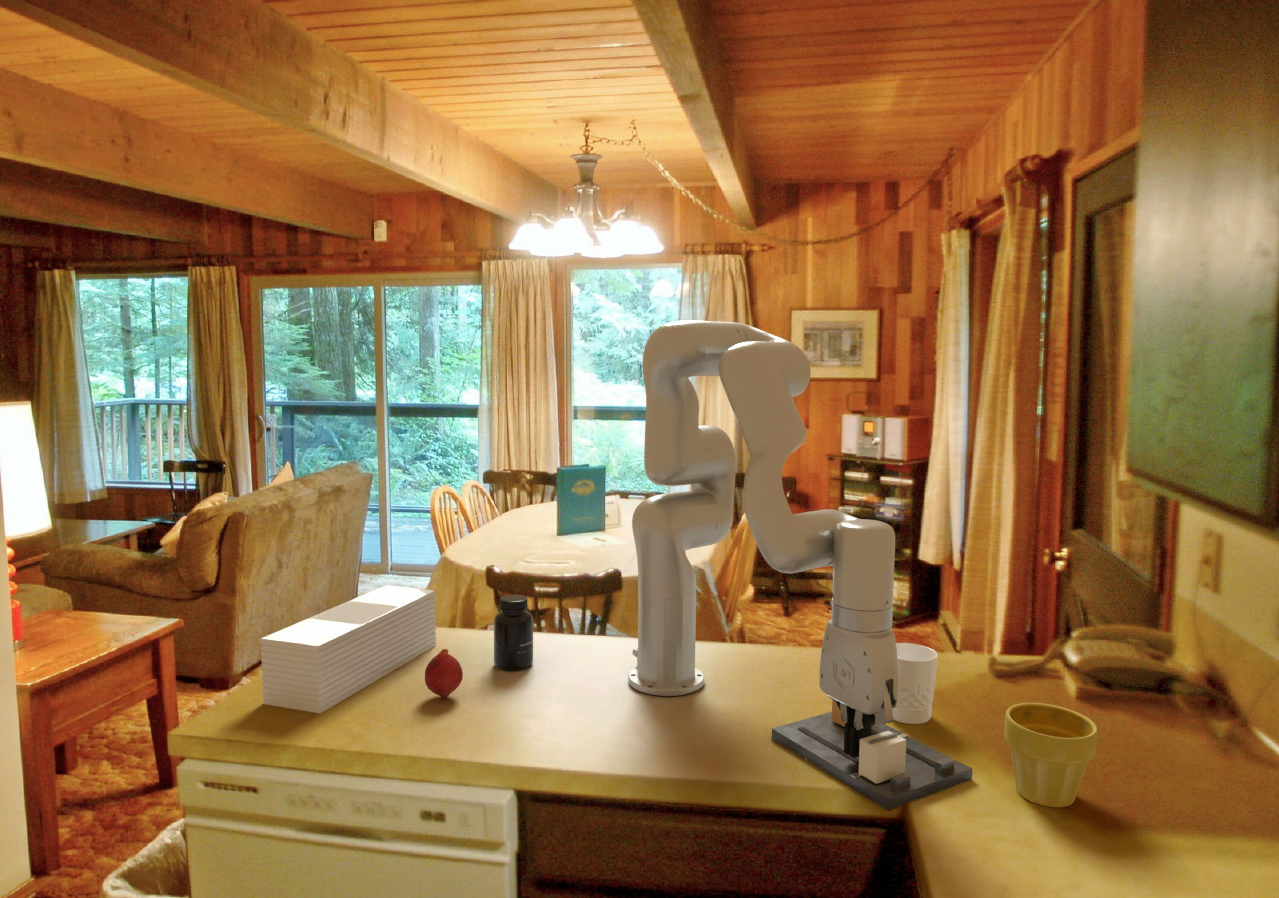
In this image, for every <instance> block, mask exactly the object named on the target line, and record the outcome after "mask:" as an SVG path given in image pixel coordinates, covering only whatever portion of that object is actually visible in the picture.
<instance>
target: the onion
mask: <svg viewBox="0 0 1279 898" xmlns="http://www.w3.org/2000/svg"><path fill="white" fill-rule="evenodd" d="M463 675H464V673H463V669H462V666H461V664H460V662H459V660H458V659H457V658H456V657H454V656H453V655H451V654H450V653H449V649H448V648H447V647H445V648H442V649H441V650H440V651H439V652H438V654H437V655H435V656H434V657H432V658H431V660H429V662H428V664H427V666H426V668H425V671H424V682H425V686H426V687H427V689H428V690H429V691H431V692H432V693H433V694H435V695H436V696H439V697H440V698H444V699H446V698H448V697H449V696H450V695H451V694H452V693H453V692H454V691H456V690H457V689H458V688H459V686H460V685H461V683H462V681H463Z"/></svg>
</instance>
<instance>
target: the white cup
mask: <svg viewBox="0 0 1279 898" xmlns="http://www.w3.org/2000/svg"><path fill="white" fill-rule="evenodd" d="M896 648H897V657H898V678H899V679H898V699H897V704H896V707H895V708H892V713H893V721H895V722H897V723H903V724H906V725H922V724H926V723H928V722H929V721H930V720H931V718H932V712H933V711H932V710H933V701H934V698H935V697H934V696H935V689H936V679H937V678H936V677H937V668H938V658H939V657H938V655H939V654H938V652H937V651H936V650H934V649H933V648H930V647H928V646H926V645H921V644H917V643H909V642H896Z"/></svg>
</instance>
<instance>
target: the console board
mask: <svg viewBox="0 0 1279 898" xmlns="http://www.w3.org/2000/svg"><path fill="white" fill-rule="evenodd" d="M844 730H845V727H843V726H842V725H840V724H838V723H836V722H834V721H832V711H830V712H826V713H823V714H819V715H815V716H811V717H808V718H805V719H801V720H798V721H794V722H790V723H786V724H783V725H779V726H775V727H772V728H771V739H772V740H773V741H774V742H777V743H779V745H781V746H783V747H785V746H786V747H787V748H786V747H785V748H786V749H788V748H789V749H788V750H790V751H791V750H792V751H791V752H792V753H794V752H795V754H796V755H798V754H799V755H800V756H799V755H798V756H799V757H801V756H802V757H801V758H803V759H804V758H806V759H807V760H808V761H807V760H806V759H805V760H806V761H807V762H809V761H810V762H809V763H811V762H812V763H813V764H812V763H811V764H812V765H814V764H815V765H814V766H815V767H817V766H818V767H817V768H819V767H820V768H821V769H820V768H819V769H820V770H822V769H823V770H822V771H824V772H825V773H827V774H829V775H830V776H832V777H834V778H835V779H837V780H838V781H840V782H842V783H844V784H845V785H847V786H849V787H850V788H852V789H853V790H855V791H856V792H858V793H859V794H862V795H863V796H864V797H865V798H867V799H869V800H871V801H872V802H874V803H875V804H877V805H879V806H880V807H883V808H884V809H886V810H887V811H890V810H894V809H896V808H899V807H901V806H904V805H907V804H909V803H912V802H915V801H917V800H920V799H923V798H927V797H929V796H931V795H934V794H937V793H940V792H942V791H945V790H948V789H951V788H952V787H955V786H958V785H961V784H964V783H966V782H969V781H971V780H973V767H970V766H969V765H967V764H965V763H963V762H961V761H959V760H956V759H954V758H953V757H952V756H951V757H950V756H948V755H947V754H944V753H942V752H940V751H938V750H937V749H935V748H934V747H931V746H929V745H927V744H924V743H922V742H920V740H919V741H918V740H917V739H914V738H913V737H911V736H909V735H908V734H906V733H904V732H900V731H898V730H897V729H895V728H892V727H890V726H889V725H887V724H880V723H876V724H875V725H874V726H871V736H872V735H876V734H879V733H882V732H886V731H890V732H892V733H897V735H898V736H900V737H902V738H904V739H906V761H905V772H904V773H901V774H898V775H895V776H892V777H890V779H889V780H886V781H883V782H880V783H877V784H876V783H874V782H872V781H871V780H869V779H867V778H866V777H864V776H862V775H861V774H859V757H856V758H853V757H851V756H850V754H849V755H848V754H846V753H844Z"/></svg>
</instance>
